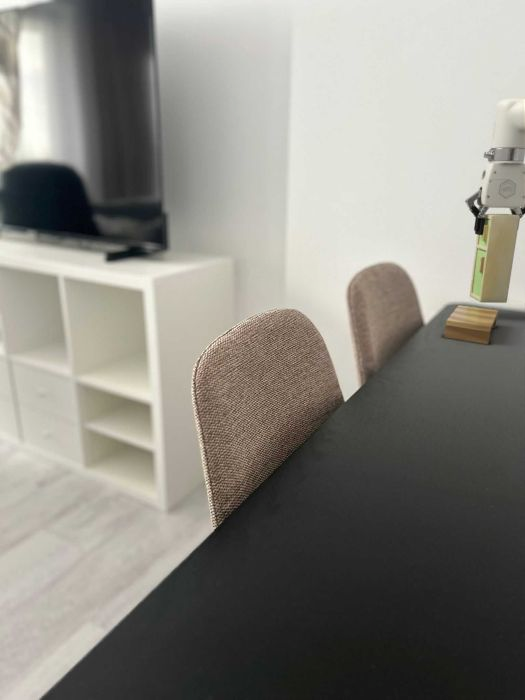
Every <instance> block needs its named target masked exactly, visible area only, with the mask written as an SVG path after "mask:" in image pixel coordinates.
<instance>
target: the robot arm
mask: <svg viewBox="0 0 525 700" xmlns="http://www.w3.org/2000/svg"><path fill="white" fill-rule="evenodd" d="M483 158H484V159H487V161H488V163H485V165H484V168H483V171H482V174H481V177H480V181H479V185H478V190H477V191H476V192H475V193H473V194H471V195H469V197H467V198H466V199H465V204H466V206H467V207H468V209H469V211H470V212H471V214H472V215H473V217H474V218H475V220H474V226H473V231H474V234H475V235H483V231H484V224H485V218H483V216H484V214H487V212H488V210H489V209H492V208H494V209H509V211H510V214H512V215H519V216H520V218H519V222H520V220H521V219H522V218H523V216H524V215H525V97H512V98H505V99H501V100H500V101H499V102H498V103H497V104H496V108H495V114H494V120H493V128H492V134H491V144H490V149H489V150H488V151H484V153H483ZM475 202H476V204H477V205H478V207H477V206H476V204H475ZM518 228H520V224H519V225H518Z"/></svg>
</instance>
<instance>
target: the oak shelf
mask: <svg viewBox="0 0 525 700" xmlns="http://www.w3.org/2000/svg"><path fill="white" fill-rule="evenodd" d="M498 316H499V310H498V309H491V308H483V307H475V306H468V305H461V304H460V305H459V304H458V306H457V307H456V308H455V309H454V311H453V312H452V313H451V314H450V316H449V317H448V318H447V319H446V322H445V330H444V335H443V336H444V338H445V339H451V340H458V341H465V342H471V343H475V344H476V343H477V344H483V345H488V344H489V343H490V338H491V332H492V329H496V326H497V321H498Z"/></svg>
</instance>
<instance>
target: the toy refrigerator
mask: <svg viewBox="0 0 525 700" xmlns="http://www.w3.org/2000/svg"><path fill="white" fill-rule="evenodd" d="M483 218H485V224H484V231H483V235H477V234H476V235H477V236H476V242H475V251H474V259H473V266H472V273H471V281H470V282H471V283H470V288H469V297H470V298H472V299H474V300H476V301H477V302H479V303H489V304H491V303H494V304H501V303H502V304H506V303H508V302H507V301H508V297H509V289H510V283H511V276H512V272H513V271H512V270H513V264H514V258H515V257H514V255H515V251H516V244H517V236H518V231H519V227H518V225H519V226H520V221H519V218H520V216H519V215H512V214H511V213H485V214H484V216H483ZM520 219H521V218H520Z"/></svg>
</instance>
